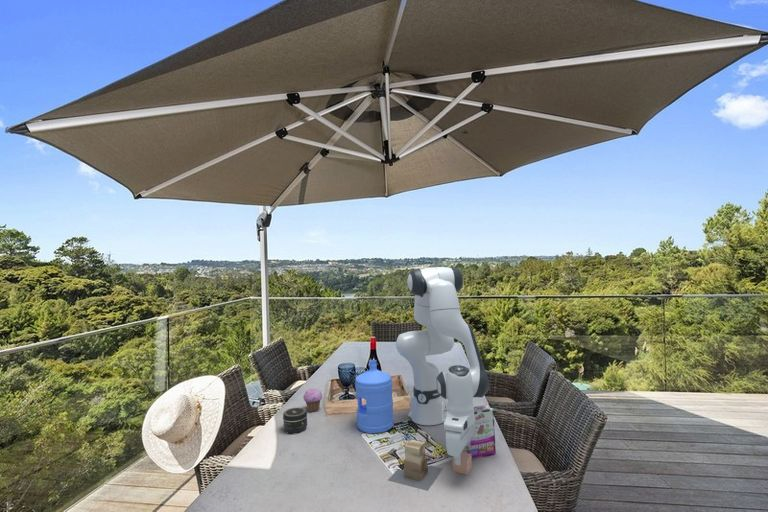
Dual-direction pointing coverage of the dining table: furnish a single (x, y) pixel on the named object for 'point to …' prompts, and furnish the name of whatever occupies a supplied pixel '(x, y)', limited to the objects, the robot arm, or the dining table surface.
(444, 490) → the dining table surface
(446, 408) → the robot arm
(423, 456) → the tower mid
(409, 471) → the tower base
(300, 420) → the jar
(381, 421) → the water jug
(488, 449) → the candy bar box
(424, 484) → the mat
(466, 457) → the terracotta block
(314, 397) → the cupcake
